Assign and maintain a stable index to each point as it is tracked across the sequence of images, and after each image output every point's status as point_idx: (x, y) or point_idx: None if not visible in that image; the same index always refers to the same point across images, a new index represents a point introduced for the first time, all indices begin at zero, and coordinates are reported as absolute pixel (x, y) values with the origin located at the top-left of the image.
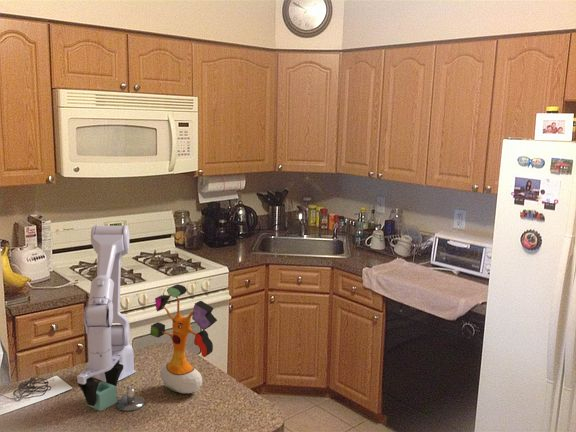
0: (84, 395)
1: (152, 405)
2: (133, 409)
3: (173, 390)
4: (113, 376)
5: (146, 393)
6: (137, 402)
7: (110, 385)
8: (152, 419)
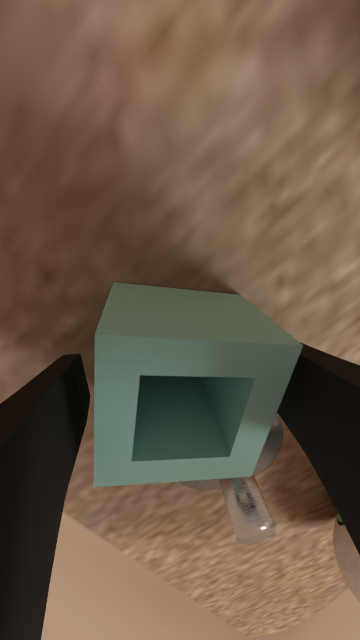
0: (10, 398)
1: None
2: (186, 483)
3: None
4: (339, 479)
5: None
6: None
7: (249, 443)
8: (170, 536)
